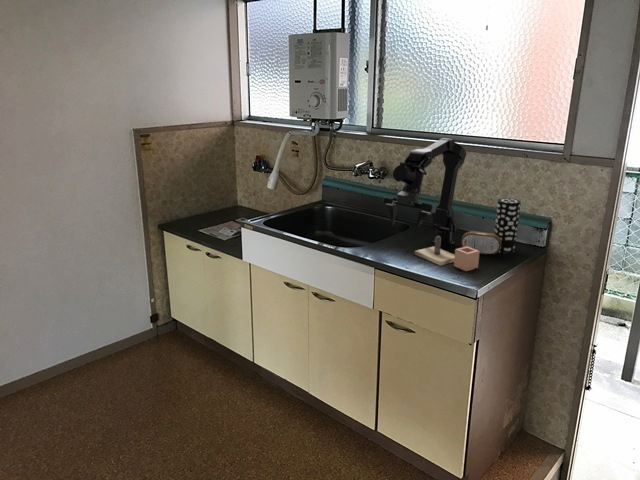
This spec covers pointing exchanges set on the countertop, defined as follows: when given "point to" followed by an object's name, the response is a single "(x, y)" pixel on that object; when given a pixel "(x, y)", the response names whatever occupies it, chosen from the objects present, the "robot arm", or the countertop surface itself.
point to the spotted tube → (507, 223)
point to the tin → (482, 242)
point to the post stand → (436, 253)
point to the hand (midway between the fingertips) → (404, 227)
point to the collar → (466, 258)
